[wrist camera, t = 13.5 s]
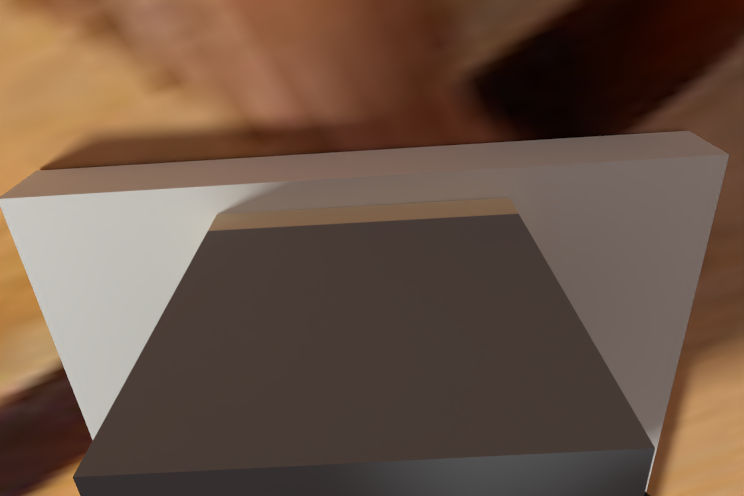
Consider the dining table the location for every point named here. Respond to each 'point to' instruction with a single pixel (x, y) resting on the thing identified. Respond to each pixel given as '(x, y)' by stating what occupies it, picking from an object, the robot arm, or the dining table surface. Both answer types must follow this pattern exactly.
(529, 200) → the board
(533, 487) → the block
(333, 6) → the dining table surface
